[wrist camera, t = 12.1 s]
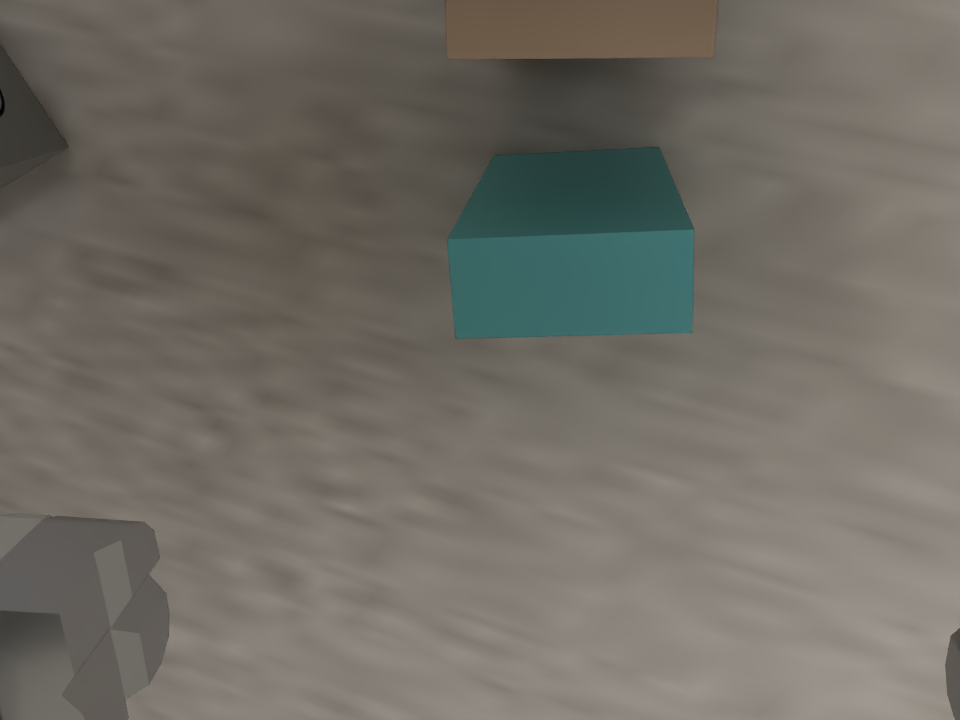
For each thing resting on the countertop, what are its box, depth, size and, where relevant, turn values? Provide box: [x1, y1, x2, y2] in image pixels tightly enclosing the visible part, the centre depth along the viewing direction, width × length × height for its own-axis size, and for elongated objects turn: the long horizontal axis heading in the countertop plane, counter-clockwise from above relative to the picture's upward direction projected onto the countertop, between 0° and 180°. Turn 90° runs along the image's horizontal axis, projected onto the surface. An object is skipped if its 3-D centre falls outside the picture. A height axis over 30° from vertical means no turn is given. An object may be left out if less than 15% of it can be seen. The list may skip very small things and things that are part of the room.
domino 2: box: [447, 147, 694, 339], centre depth 23 cm, size 2×5×10 cm, turn 94°
